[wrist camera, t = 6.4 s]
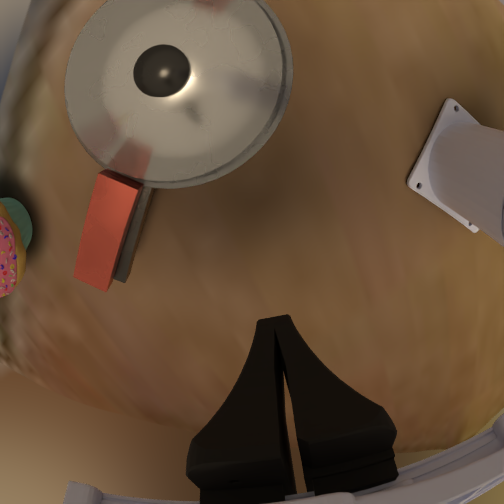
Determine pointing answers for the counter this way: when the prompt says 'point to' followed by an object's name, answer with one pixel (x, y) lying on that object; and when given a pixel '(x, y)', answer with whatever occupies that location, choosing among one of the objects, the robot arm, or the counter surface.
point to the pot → (240, 159)
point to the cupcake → (13, 243)
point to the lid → (164, 103)
